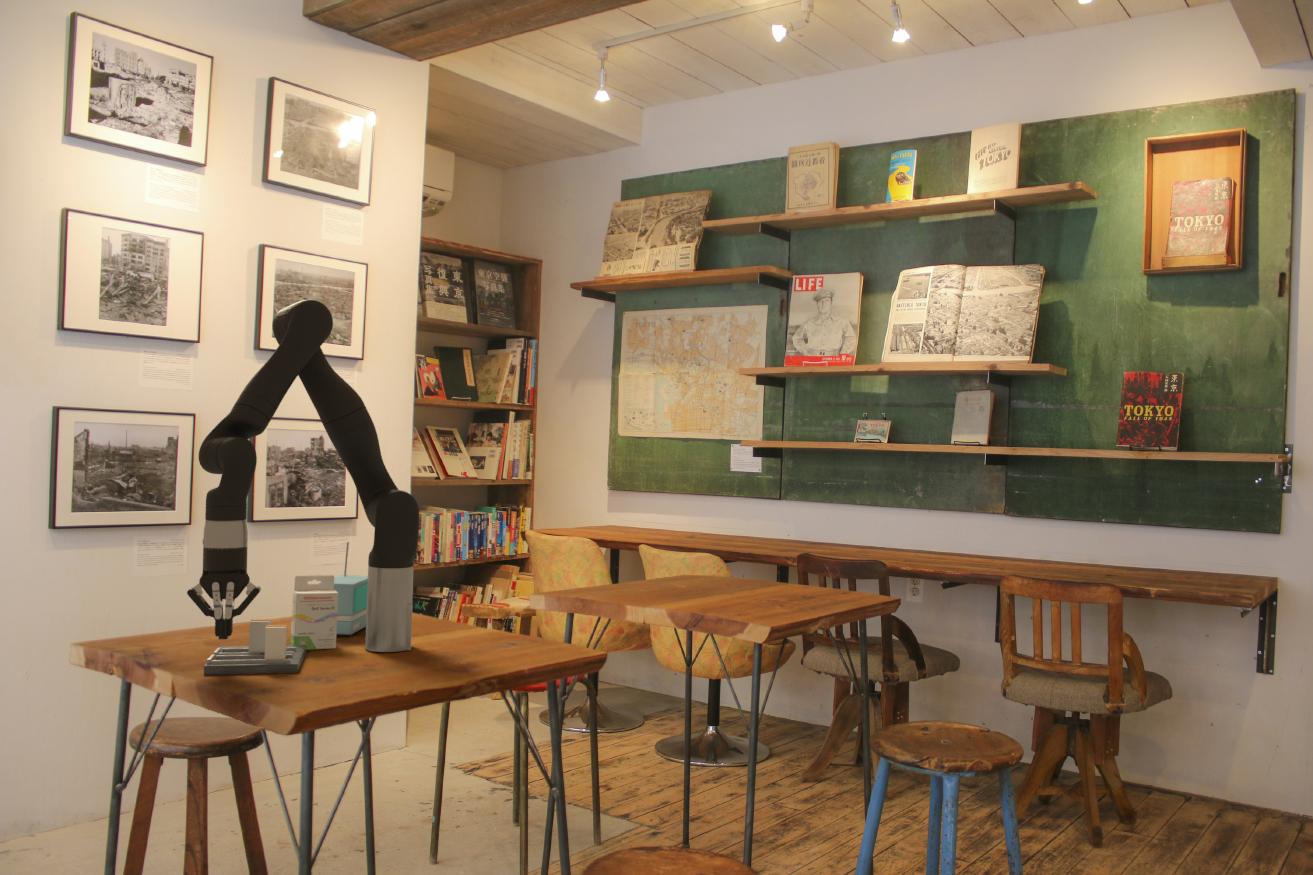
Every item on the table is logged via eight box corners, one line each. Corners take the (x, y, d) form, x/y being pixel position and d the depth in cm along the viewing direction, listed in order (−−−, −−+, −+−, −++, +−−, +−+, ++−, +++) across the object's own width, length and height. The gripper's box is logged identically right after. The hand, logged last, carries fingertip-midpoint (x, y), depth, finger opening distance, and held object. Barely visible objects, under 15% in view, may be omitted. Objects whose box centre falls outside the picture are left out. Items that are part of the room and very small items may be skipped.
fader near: (286, 656, 190) (287, 623, 190) (284, 659, 187) (285, 626, 187) (266, 657, 189) (267, 623, 189) (264, 660, 186) (265, 626, 186)
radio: (356, 638, 222) (359, 547, 222) (315, 637, 222) (318, 546, 222) (377, 626, 237) (380, 541, 238) (339, 625, 237) (342, 540, 238)
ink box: (293, 650, 205) (296, 578, 206) (289, 646, 210) (292, 575, 210) (337, 648, 209) (339, 577, 210) (332, 644, 214) (335, 574, 214)
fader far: (269, 650, 196) (271, 618, 196) (268, 653, 193) (269, 620, 193) (250, 650, 195) (251, 618, 195) (248, 653, 192) (249, 620, 192)
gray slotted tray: (306, 652, 204) (306, 640, 204) (297, 672, 185) (298, 659, 185) (220, 654, 199) (221, 642, 200) (203, 674, 181) (204, 661, 181)
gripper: (266, 542, 191) (264, 633, 191) (190, 543, 188) (188, 636, 187) (261, 546, 184) (259, 641, 184) (182, 546, 180) (180, 643, 180)
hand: (223, 638), depth 185 cm, fingers closed
